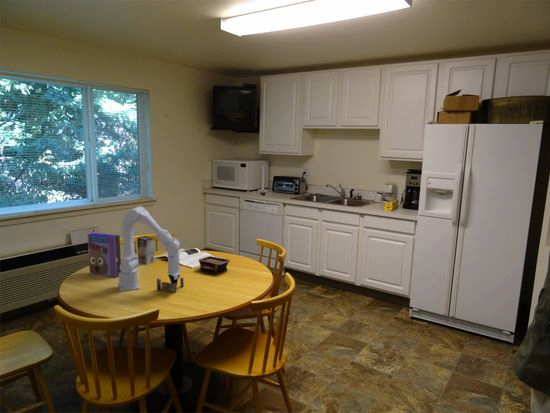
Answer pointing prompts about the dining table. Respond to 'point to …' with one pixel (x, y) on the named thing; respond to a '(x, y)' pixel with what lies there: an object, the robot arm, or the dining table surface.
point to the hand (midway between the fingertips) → (174, 287)
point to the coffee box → (145, 249)
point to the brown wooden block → (169, 287)
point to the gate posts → (160, 283)
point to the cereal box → (104, 254)
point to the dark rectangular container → (212, 264)
